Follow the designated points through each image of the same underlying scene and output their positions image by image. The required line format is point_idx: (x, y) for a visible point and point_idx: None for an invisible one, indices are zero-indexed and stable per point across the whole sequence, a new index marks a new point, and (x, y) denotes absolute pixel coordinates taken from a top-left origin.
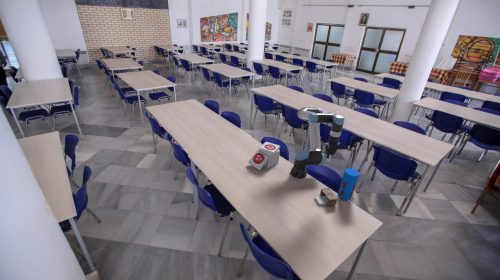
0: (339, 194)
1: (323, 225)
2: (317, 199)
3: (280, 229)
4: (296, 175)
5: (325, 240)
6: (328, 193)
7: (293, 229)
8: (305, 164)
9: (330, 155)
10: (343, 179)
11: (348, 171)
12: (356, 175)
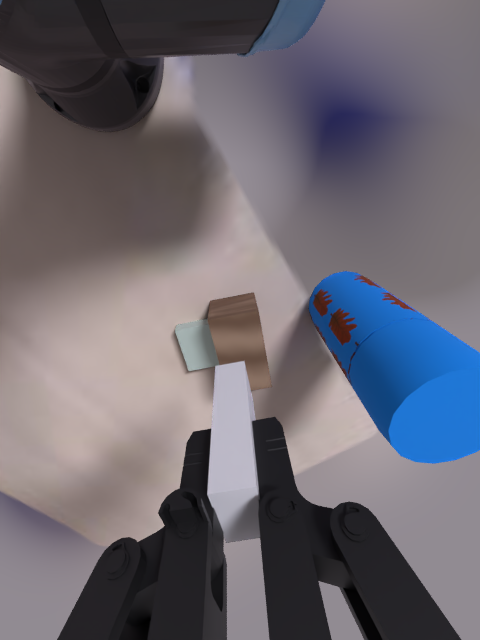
0: (312, 316)
1: (182, 444)
2: (184, 347)
3: (31, 463)
4: (62, 114)
5: (175, 484)
6: (237, 354)
7: (75, 461)
8: (67, 61)
9: (239, 540)
10: (352, 371)
11: (423, 414)
12: (453, 456)
